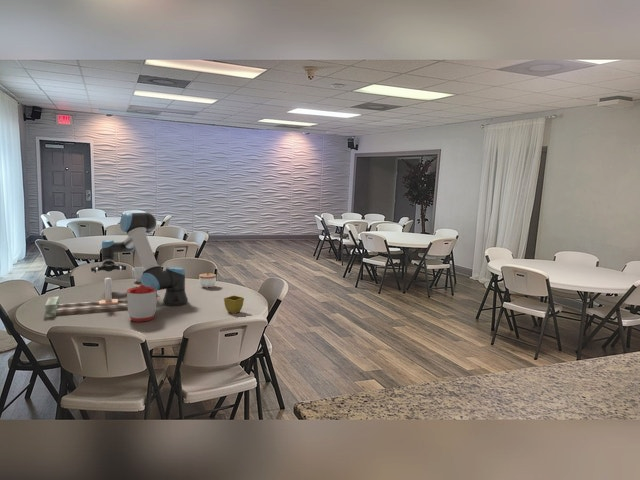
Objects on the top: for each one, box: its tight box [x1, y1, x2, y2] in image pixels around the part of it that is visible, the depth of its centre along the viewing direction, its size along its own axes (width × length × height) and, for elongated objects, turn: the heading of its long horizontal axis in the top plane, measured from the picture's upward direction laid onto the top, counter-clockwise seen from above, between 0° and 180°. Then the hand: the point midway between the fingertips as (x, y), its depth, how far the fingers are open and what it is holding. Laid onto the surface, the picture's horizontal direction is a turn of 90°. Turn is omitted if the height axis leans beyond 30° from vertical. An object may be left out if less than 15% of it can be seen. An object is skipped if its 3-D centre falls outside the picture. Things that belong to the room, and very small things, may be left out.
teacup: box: [131, 266, 144, 283], centre depth 330 cm, size 12×15×10 cm
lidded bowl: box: [198, 272, 217, 288], centre depth 321 cm, size 13×13×11 cm
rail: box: [44, 296, 128, 318], centre depth 256 cm, size 48×18×7 cm, turn 116°
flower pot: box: [223, 295, 245, 314], centre depth 262 cm, size 9×9×9 cm
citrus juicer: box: [126, 284, 161, 323], centre depth 242 cm, size 16×17×20 cm
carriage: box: [99, 277, 119, 306], centre depth 259 cm, size 10×8×16 cm
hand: (109, 270), depth 270 cm, fingers open, 13 cm apart
